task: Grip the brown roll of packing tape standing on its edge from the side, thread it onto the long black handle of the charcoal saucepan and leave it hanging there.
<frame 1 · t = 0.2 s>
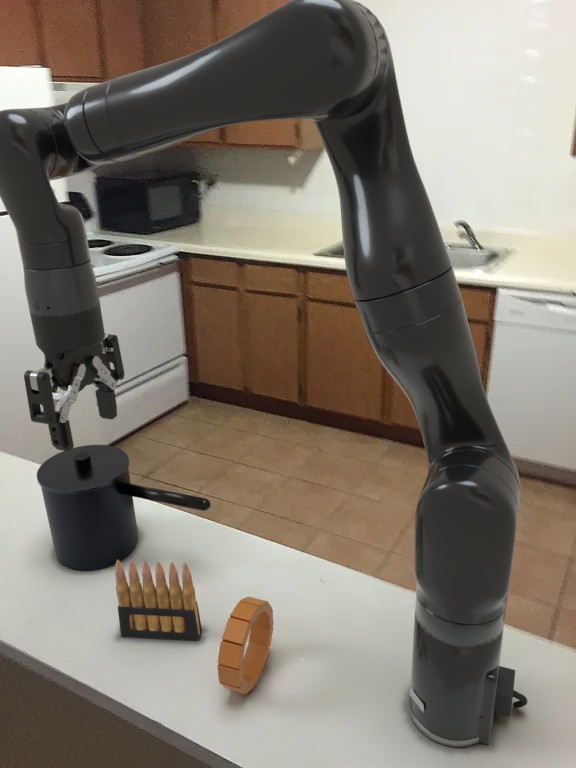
hand: (87, 432, 80), 29 cm above the countertop, tool pointing down, fingers open, 8 cm apart
saucepan: (97, 544, 108), on the countertop
ammunition clip: (161, 634, 90), on the countertop
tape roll: (249, 675, 83), on the countertop
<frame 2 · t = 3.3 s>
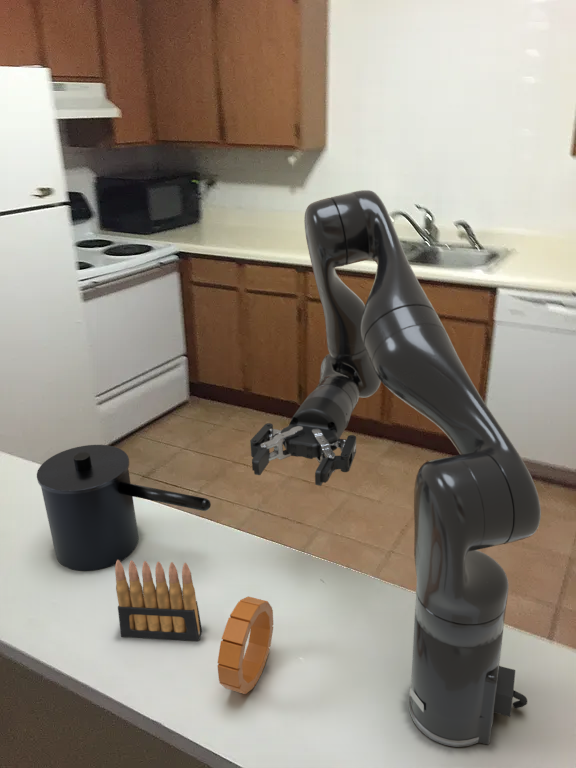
hand: (286, 474, 87), 20 cm above the countertop, tool horizontal, fingers open, 8 cm apart
nothing on the countertop moved.
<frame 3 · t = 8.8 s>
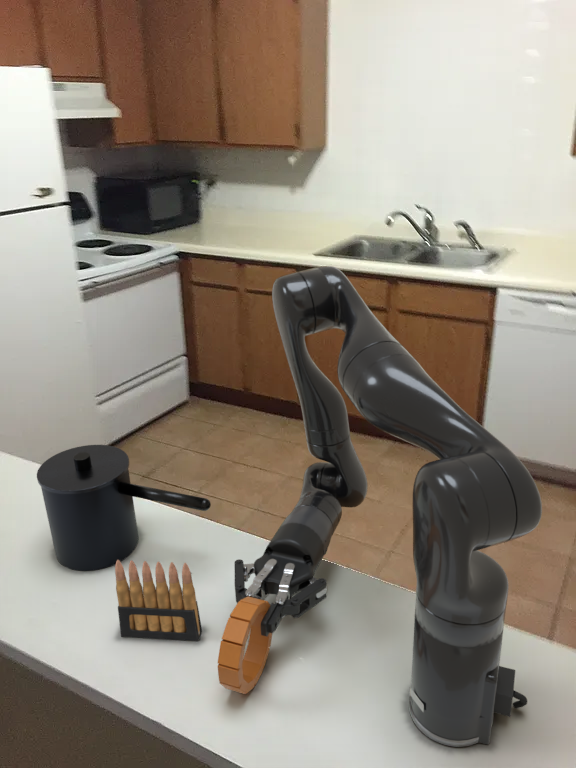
hand: (251, 627, 81), 6 cm above the countertop, tool horizontal, fingers closed on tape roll, 2 cm apart
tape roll: (249, 675, 83), on the countertop, touching gripper
everything else where it was.
when the fingers open (10 cm above the countertop, at t = 18.8 s): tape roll stays where it is, resting on saucepan.
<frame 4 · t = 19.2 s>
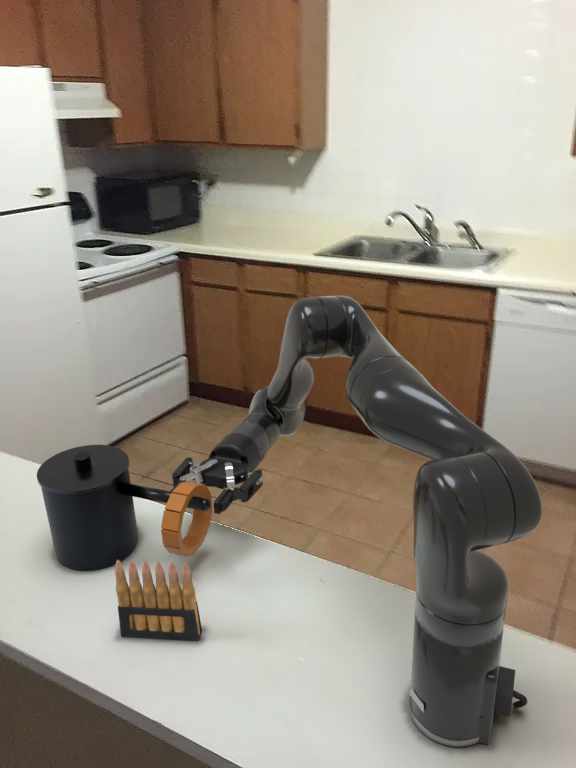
hand: (194, 504, 99), 10 cm above the countertop, tool horizontal, fingers open, 6 cm apart
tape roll: (191, 547, 100), point 4 cm above the countertop, touching saucepan
everything else where it was.
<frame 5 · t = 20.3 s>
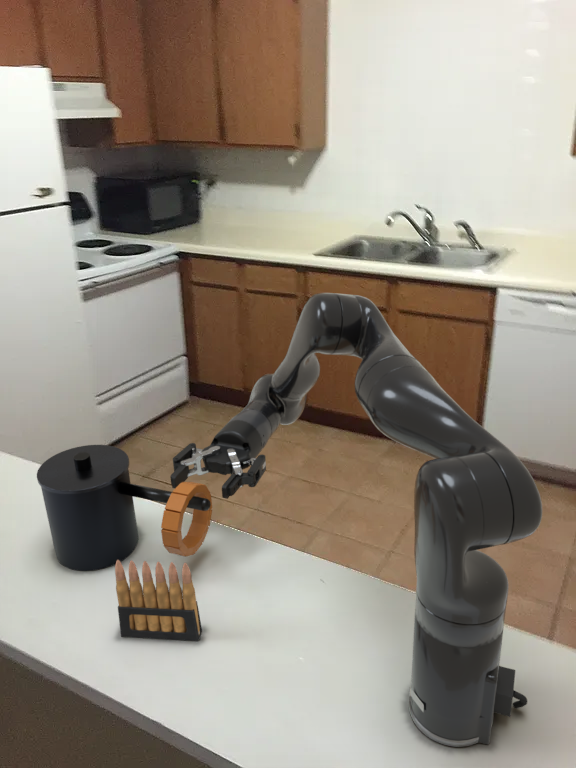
hand: (198, 488, 100), 12 cm above the countertop, tool horizontal, fingers open, 8 cm apart
nothing on the countertop moved.
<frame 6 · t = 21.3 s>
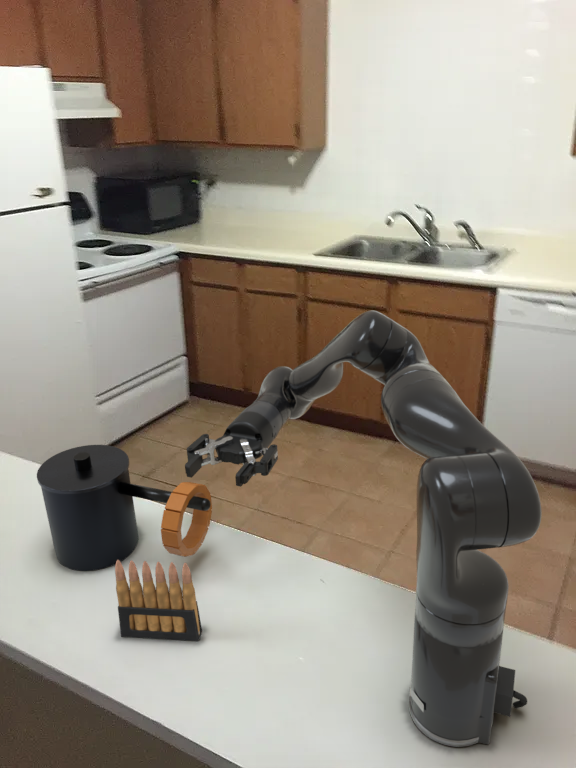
hand: (212, 476, 103), 12 cm above the countertop, tool horizontal, fingers open, 8 cm apart
nothing on the countertop moved.
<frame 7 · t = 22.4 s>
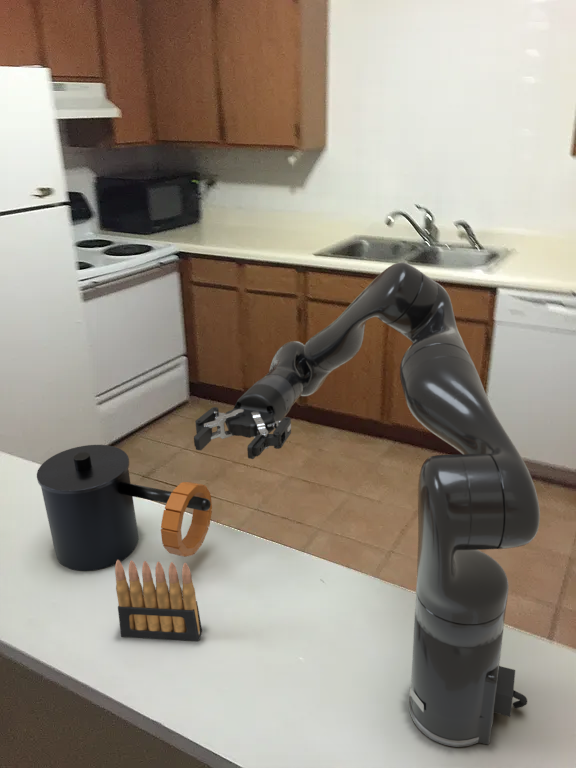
hand: (223, 449, 97), 18 cm above the countertop, tool horizontal, fingers open, 8 cm apart
nothing on the countertop moved.
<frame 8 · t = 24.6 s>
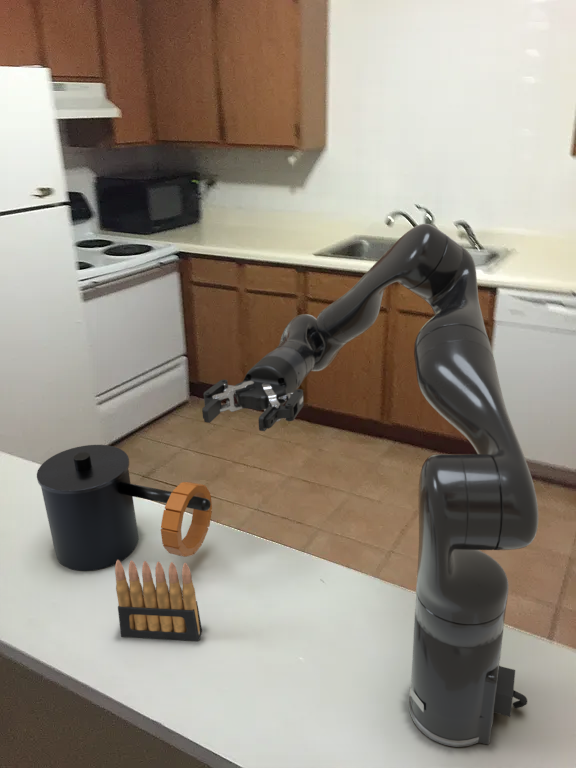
hand: (233, 420, 93), 24 cm above the countertop, tool horizontal, fingers open, 8 cm apart
nothing on the countertop moved.
at the end: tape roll touching saucepan; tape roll inside the target area on the saucepan (0.7 cm from its centre), point 3.7 cm above the saucepan's base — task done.
